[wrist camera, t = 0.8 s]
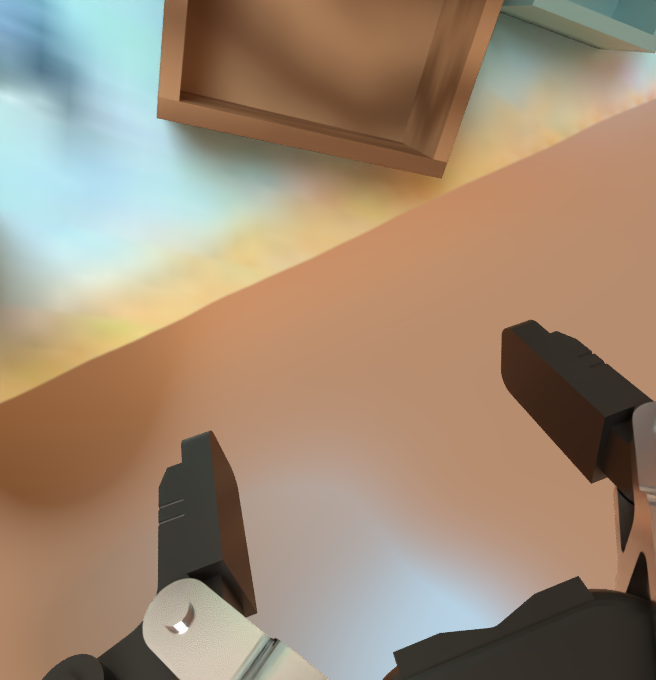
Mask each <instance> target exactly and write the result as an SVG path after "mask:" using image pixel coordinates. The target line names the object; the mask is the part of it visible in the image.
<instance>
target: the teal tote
mask: <svg viewBox="0 0 656 680" xmlns="http://www.w3.org/2000/svg"><path fill="white" fill-rule="evenodd" d="M500 12H502V13H504V14H507V15H510V16H512V17H515V18H518V19H520V20H523V21H526V22H528V23H531V24H534V25H537V26H539V27H542V28H545V29H547V30H550V31H553V32H555V33H558V34H561V35H563V36H566V37H569V38H571V39H574V40H577V41H579V42H582V43H585V44H587V45H590V46H593V47H595V48H598V49H608V50H621V51H634V52H648V53H655V51H656V0H504V1H503V4H502V7H501V10H500Z"/></svg>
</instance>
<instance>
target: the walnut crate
mask: <svg viewBox="0 0 656 680" xmlns="http://www.w3.org/2000/svg"><path fill="white" fill-rule="evenodd" d="M503 1H504V0H165V2H164V17H163V31H162V46H161V61H160V76H159V91H158V106H157V118H159V119H164V120H168V121H173V122H178V123H183V124H187V125H192V126H197V127H201V128H206V129H211V130H216V131H220V132H225V133H230V134H234V135H239V136H244V137H248V138H253V139H258V140H263V141H267V142H272V143H277V144H281V145H286V146H291V147H296V148H300V149H305V150H310V151H314V152H319V153H324V154H329V155H333V156H338V157H343V158H347V159H352V160H357V161H362V162H366V163H371V164H376V165H380V166H385V167H390V168H394V169H399V170H404V171H409V172H413V173H418V174H423V175H427V176H432V177H437V178H442V175H443V173H444V170H445V167H446V164H447V161H448V158H449V155H450V153H451V150H452V147H453V144H454V141H455V138H456V135H457V133H458V130H459V127H460V124H461V121H462V118H463V115H464V113H465V110H466V107H467V104H468V101H469V98H470V95H471V93H472V90H473V87H474V84H475V81H476V78H477V75H478V73H479V70H480V67H481V64H482V61H483V58H484V55H485V53H486V50H487V47H488V44H489V41H490V38H491V35H492V33H493V30H494V27H495V24H496V21H497V18H498V15H499V13H500V10H501V7H502V4H503Z"/></svg>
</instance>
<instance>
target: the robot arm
mask: <svg viewBox="0 0 656 680" xmlns="http://www.w3.org/2000/svg"><path fill="white" fill-rule="evenodd" d="M501 355H502V356H501V374H502V378H503V381H504V384H505V386H506V388H507V389H508V391H509V392H510V393H511V394H512V396H513V397H514V398H515V399H516V400H517V401H518V402H519V404H520V405H521V406H522V407H523V408H524V409H525V410H526V411H527V412H528V413H529V415H530V416H531V417H532V418H533V419H534V420H535V421H536V422H537V424H538V425H539V426H540V427H541V428H542V429H543V430H544V431H545V433H546V434H547V435H548V436H549V437H550V438H551V439H552V440H553V441H554V442H555V444H556V445H557V446H558V447H559V448H560V449H561V450H562V451H563V452H564V454H565V455H566V456H567V457H568V458H569V459H570V460H571V461H572V463H573V464H574V465H575V466H576V467H577V468H578V469H579V470H580V472H582V474H583V475H584V476H585V477H586V478H587V479H588V480H589V482H590V483H594V482H597V481H599V480H602V479H605V478H607V477H608V478H609V479H610V480H611V481H612V482H613V483H614V484H615V487H614V509H615V526H616V543H617V574H616V585H615V591H613V590H607V589H587V587H586V586H585V585H584V583H583V582H582V580H581V579H580V578H579V576H577V577H575V578H572V579H570V580H568V581H565V582H563V583H560V584H558V585H555V586H553V587H550V588H548V589H546V590H543V591H541V592H538V593H536V594H534V595H533V596H532V597H531V598H529V599H528V600H527V601H526V602H524V603H523V604H522V605H521V606H520V607H519V608H517V609H516V610H515V611H514V612H513V613H512V614H510V615H509V616H508V617H507V618H506V619H504V620H503V621H502V622H501V623H500V624H498V625H497V626H495V627H492V628H486V629H475V630H466V631H455V632H447V633H439V634H437V635H434V636H432V637H429V638H427V639H424V640H422V641H420V642H417V643H415V644H412V645H410V646H407V647H405V648H403V649H400V650H398V651H396V652H393V654H394V657H395V661H396V664H397V666H396V667H395V668H394V669H393V670H392V671H391V672H389V673H388V674H387V675H386V676H385V677H384V679H383V680H656V401H653V400H652V399H650V398H649V397H648V396H646V395H645V394H644V393H643V392H642V391H640V390H639V389H638V388H637V387H635V386H634V385H633V384H631V383H630V382H629V381H628V380H627V379H625V378H624V377H623V376H622V375H620V374H619V373H618V372H617V371H615V370H614V369H613V368H612V367H611V366H609V365H608V364H605V363H604V361H603V360H602V359H600V358H599V357H598V356H597V355H596V354H592V351H591V350H589V349H588V348H587V347H586V346H584V345H583V344H582V343H581V342H579V341H578V340H577V339H575V338H572V337H570V336H567V335H565V334H562V333H560V332H557V331H556V332H553V333H549V332H548V331H547V330H545V329H544V328H543V327H542V326H541V325H539V324H538V323H537V322H536V321H534V320H528V321H526V322H522V323H520V324H517V325H514V326H511V327H508V328H505V329H504V330H503V332H502V351H501ZM181 448H182V449H181V450H182V463H180V464H177V465H174V466H171V467H169V468H167V470H166V472H165V474H164V477H163V479H162V481H161V484H160V486H159V509H160V510H159V528H158V529H159V531H158V590H157V594H156V597H155V598H154V599H153V600H152V602H151V604H150V605H149V607H148V609H147V611H146V614H145V617H144V620H143V621H142V623H141V624H140V625H139V626H138V627H137V628H136V629H135V630H134V631H133V632H132V633H130V634H129V635H128V636H126V637H125V638H124V639H122V640H121V641H120V642H119V643H117V644H116V645H114V646H113V647H112V648H110V649H109V650H108V651H106V652H105V653H104V654H102V655H101V656H100V657H98V658H97V659H96V658H95V657H93V656H91V655H88V654H79V655H74V656H71V657H69V658H67V659H65V660H63V661H61V662H60V663H59V664H57V665H56V666H55V667H54V668H52V669H51V670H50V671H49V672H48V673H47V674H46V676H45V677H44V678H43V679H42V680H329V679H328V678H327V677H326V676H325V675H323V674H322V673H321V672H319V671H318V670H317V669H316V668H315V667H313V666H312V665H311V664H310V663H308V662H307V661H306V660H305V659H304V658H302V657H301V656H300V655H299V654H297V653H296V652H295V651H294V650H292V649H291V648H290V647H289V646H287V645H286V644H285V643H283V642H282V641H280V640H278V639H276V638H275V639H272V638H270V637H269V636H267V635H266V634H265V633H264V632H262V631H261V630H260V629H259V628H258V627H256V626H255V625H254V624H253V623H251V622H250V621H249V620H248V619H247V618H246V617H248V616H251V615H253V614H256V613H257V608H256V602H255V595H254V588H253V583H252V576H251V569H250V563H249V556H248V550H247V544H246V537H245V531H244V525H243V518H242V512H241V506H240V499H239V492H238V487H237V483H236V480H235V476H234V474H233V471H232V469H231V466H230V464H229V462H228V460H227V459H226V457H225V455H224V453H223V451H222V449H221V447H220V445H219V443H218V441H217V439H216V437H215V435H214V433H213V432H212V431H208V432H205V433H202V434H199V435H196V436H194V437H190V438H188V439H185V440H182V443H181Z"/></svg>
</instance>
